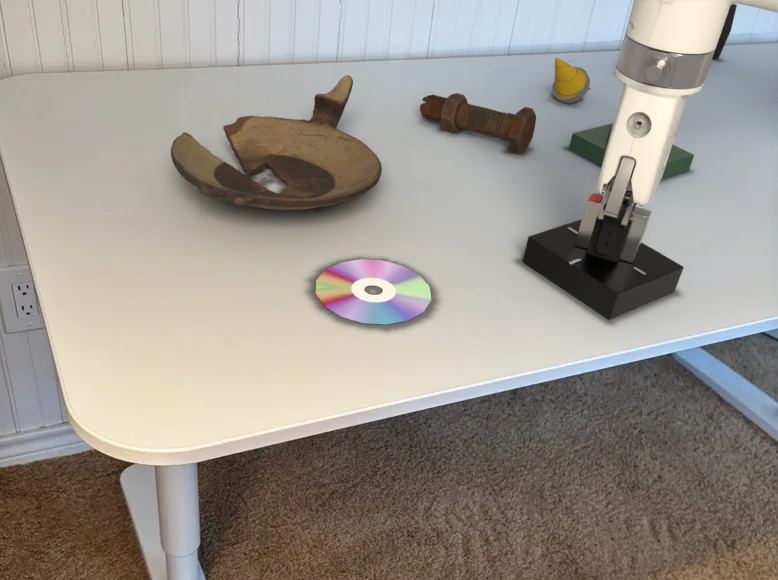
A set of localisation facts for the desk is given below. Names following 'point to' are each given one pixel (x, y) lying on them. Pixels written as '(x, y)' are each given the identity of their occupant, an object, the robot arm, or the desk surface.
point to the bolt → (481, 120)
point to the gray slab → (636, 222)
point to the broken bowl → (285, 159)
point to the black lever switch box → (601, 272)
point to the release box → (596, 142)
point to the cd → (395, 304)
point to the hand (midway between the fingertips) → (605, 250)
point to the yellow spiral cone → (569, 82)
